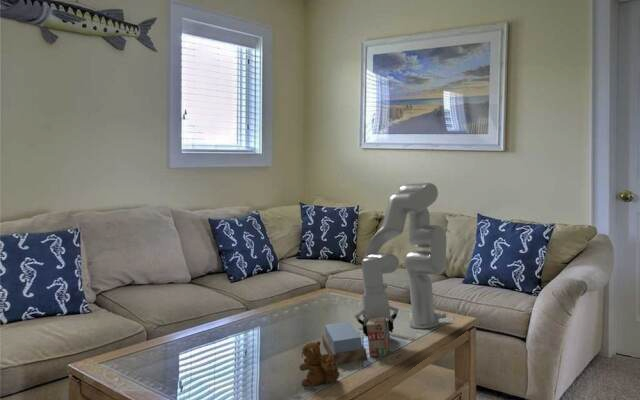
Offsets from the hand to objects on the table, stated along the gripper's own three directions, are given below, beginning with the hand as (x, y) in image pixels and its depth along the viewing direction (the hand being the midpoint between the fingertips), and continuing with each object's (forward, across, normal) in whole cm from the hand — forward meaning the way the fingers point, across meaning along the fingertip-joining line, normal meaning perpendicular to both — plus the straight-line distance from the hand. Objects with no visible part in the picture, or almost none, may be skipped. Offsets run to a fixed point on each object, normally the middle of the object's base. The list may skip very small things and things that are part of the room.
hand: (378, 333), depth 219 cm
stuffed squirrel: (+6, +27, +25) cm, 37 cm away
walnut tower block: (+6, +14, -1) cm, 15 cm away
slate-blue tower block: (+2, +14, -1) cm, 14 cm away
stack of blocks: (+6, 0, 0) cm, 6 cm away
